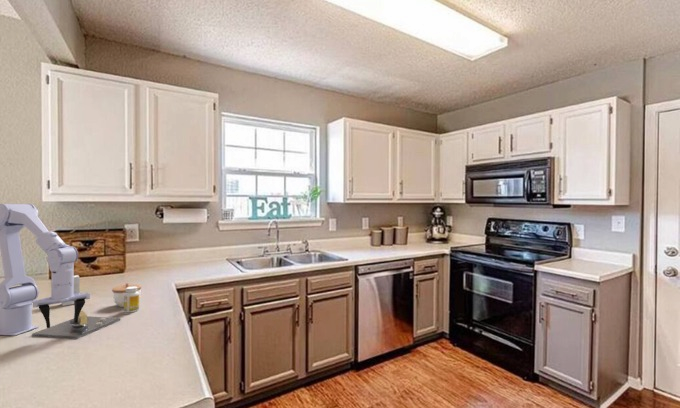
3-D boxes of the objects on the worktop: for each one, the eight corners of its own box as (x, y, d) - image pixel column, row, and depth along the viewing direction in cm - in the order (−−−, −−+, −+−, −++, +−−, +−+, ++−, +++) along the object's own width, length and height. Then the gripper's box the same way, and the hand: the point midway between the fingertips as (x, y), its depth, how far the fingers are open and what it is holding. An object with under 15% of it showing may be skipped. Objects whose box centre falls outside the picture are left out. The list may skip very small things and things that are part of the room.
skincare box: (78, 301, 152) (78, 275, 152) (79, 303, 149) (79, 276, 149) (61, 304, 148) (61, 277, 148) (62, 306, 145) (62, 278, 145)
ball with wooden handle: (68, 321, 120) (68, 310, 120) (86, 317, 123) (86, 307, 124) (74, 329, 112) (74, 317, 112) (93, 325, 116) (93, 314, 116)
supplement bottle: (121, 313, 136) (121, 289, 136) (128, 308, 141) (128, 286, 142) (135, 312, 137) (135, 289, 137) (141, 308, 142) (141, 285, 142)
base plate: (32, 335, 112) (32, 329, 112) (80, 318, 130) (80, 312, 130) (77, 338, 110) (77, 332, 110) (120, 320, 128) (120, 314, 128)
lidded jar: (106, 307, 144) (106, 285, 144) (130, 300, 154) (130, 280, 154) (123, 310, 140) (123, 287, 140) (146, 303, 150) (146, 282, 150)
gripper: (34, 289, 104) (33, 333, 104) (91, 282, 114) (91, 321, 114) (32, 285, 109) (32, 327, 109) (87, 278, 119) (87, 317, 119)
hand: (62, 324), depth 112 cm, fingers open, 6 cm apart
